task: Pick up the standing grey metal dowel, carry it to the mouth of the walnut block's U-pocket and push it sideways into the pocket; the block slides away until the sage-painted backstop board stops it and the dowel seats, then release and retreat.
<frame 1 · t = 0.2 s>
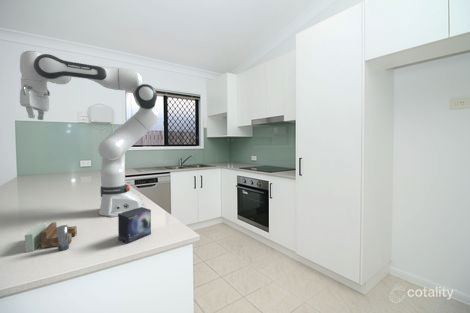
hand: (36, 119, 102), 48 cm above the counter, fingers open, 8 cm apart
dowel: (63, 249, 77), on the counter
block: (60, 232, 83), point 3 cm above the counter, slide at 0.0 cm
small box: (135, 237, 87), on the counter
wall: (37, 244, 81), on the counter
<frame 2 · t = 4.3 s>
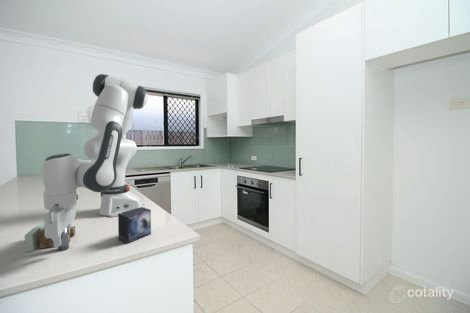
hand: (62, 240, 77), 3 cm above the counter, fingers open, 8 cm apart
block: (58, 233, 83), point 3 cm above the counter, slide at 0.5 cm, touching gripper
everything else where it was.
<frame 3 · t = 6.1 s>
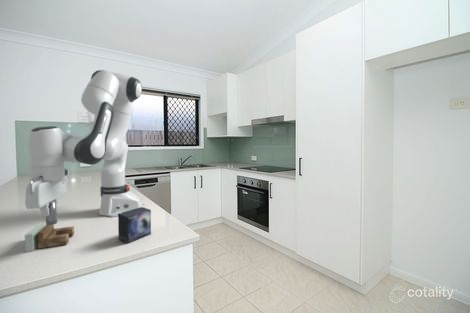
hand: (49, 213, 76), 13 cm above the counter, fingers closed on dowel, 3 cm apart
dowel: (51, 223, 76), point 9 cm above the counter, touching gripper
block: (57, 233, 83), point 3 cm above the counter, slide at 0.9 cm
everything else where it was.
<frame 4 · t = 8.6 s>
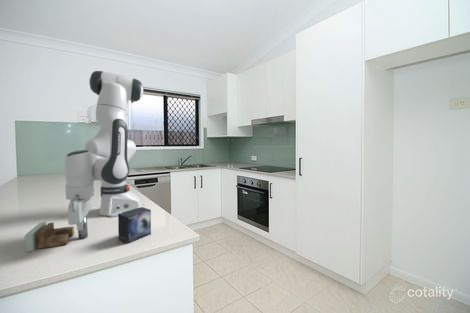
hand: (81, 227, 86), 4 cm above the counter, fingers closed on dowel, 3 cm apart
dowel: (83, 236, 86), on the counter, touching gripper
everything else where it was.
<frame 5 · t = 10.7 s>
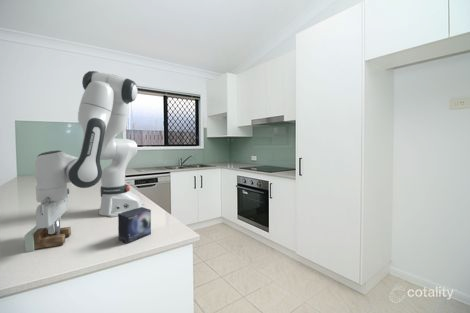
hand: (54, 231, 82), 4 cm above the counter, fingers closed on dowel, 3 cm apart
dowel: (55, 240, 83), touching block, gripper
block: (53, 233, 82), point 3 cm above the counter, slide at 2.0 cm, touching dowel
everything else where it was.
when the fingers open (4 cm above the counter, at t = 11.6 s): dowel stays where it is, on the counter.
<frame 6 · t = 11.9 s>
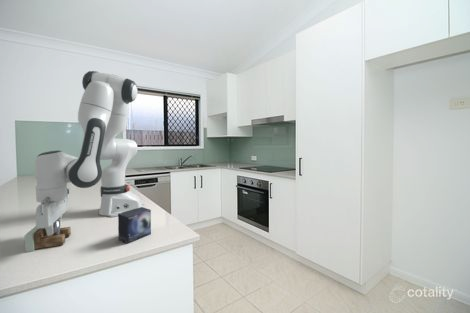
hand: (54, 231, 82), 4 cm above the counter, fingers open, 5 cm apart
dowel: (55, 241, 83), on the counter
block: (53, 233, 82), point 3 cm above the counter, slide at 2.0 cm, touching wall
everything else where it was.
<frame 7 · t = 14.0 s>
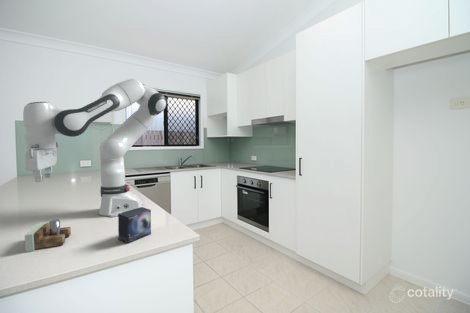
hand: (44, 179, 87), 23 cm above the counter, fingers open, 8 cm apart
nothing on the counter moved.
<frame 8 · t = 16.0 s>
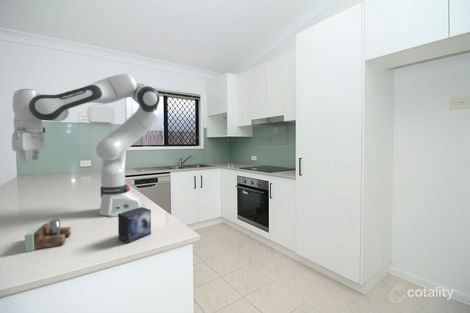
hand: (30, 160, 95), 29 cm above the counter, fingers open, 8 cm apart
nothing on the counter moved.
at the end: dowel 0.5 cm from the target spot on the block, point 0.0 cm above the block's base; block slide at 2.0 cm; dowel tilted 0° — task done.
